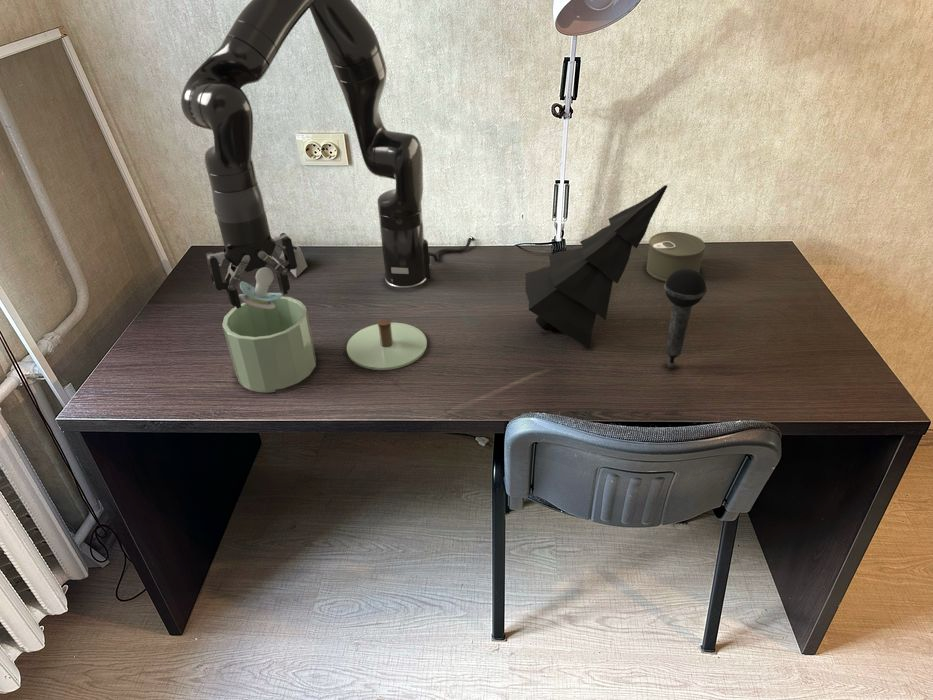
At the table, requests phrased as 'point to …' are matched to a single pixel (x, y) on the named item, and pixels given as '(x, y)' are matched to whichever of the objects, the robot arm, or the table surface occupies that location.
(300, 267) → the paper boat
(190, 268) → the table surface
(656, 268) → the can
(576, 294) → the decorative tree
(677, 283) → the microphone
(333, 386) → the table surface
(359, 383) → the table surface
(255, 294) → the pacifier
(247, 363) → the crock
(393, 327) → the lid
